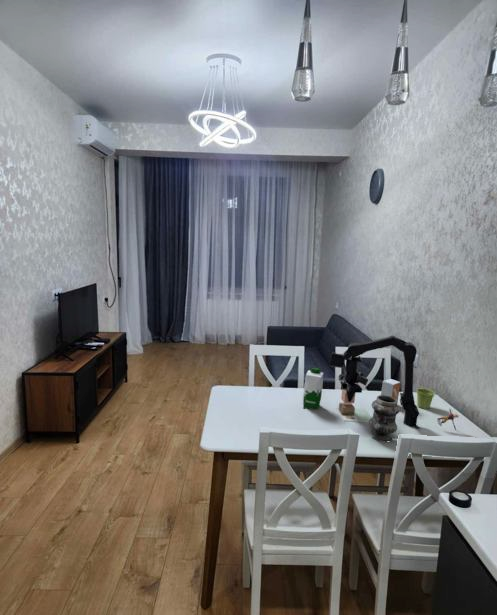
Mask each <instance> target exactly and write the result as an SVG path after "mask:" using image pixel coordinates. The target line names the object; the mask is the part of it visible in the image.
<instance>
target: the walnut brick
mask: <svg viewBox="0 0 497 615" xmlns="http://www.w3.org/2000/svg"><path fill="white" fill-rule="evenodd" d="M338 408H339V411H340V413H341V414H342V415H350V416H354V412H355V408H356V407H355V406H354V405H353V403H344V402H339V404H338Z"/></svg>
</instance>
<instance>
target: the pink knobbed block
mask: <svg viewBox="0 0 497 615" xmlns="http://www.w3.org/2000/svg"><path fill="white" fill-rule="evenodd" d="M341 390H342V391H341V398H340V399H341V400H342V403H351V404H355V400H356V393H355V394H354V396H353V398H352V400H351V402H348V398H347V393H346V389H341Z"/></svg>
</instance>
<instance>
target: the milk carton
mask: <svg viewBox="0 0 497 615" xmlns="http://www.w3.org/2000/svg"><path fill="white" fill-rule="evenodd" d="M323 382H324V372H321V370H320V367H311V370H307V372H306V374H305V379H304V388H303V397H302V398H303V400H302V401H303V403H302V404H303V407H302V408H303V409H304V410H306V409H309V410H310V409H311V410H318V409H319V407H320V405H321V404H320V403H321V400H322V393H323V385H324V383H323Z"/></svg>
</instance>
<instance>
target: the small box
mask: <svg viewBox="0 0 497 615" xmlns="http://www.w3.org/2000/svg"><path fill="white" fill-rule="evenodd" d="M400 387H401V381H398V380H395V379H392V378H389V379H386V380H383V381H382V386H381V390H380V392H381V394H380V395H386V396H390V397H393V398H395V399H396V400H397V404H398V402H399V396H400Z"/></svg>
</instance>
